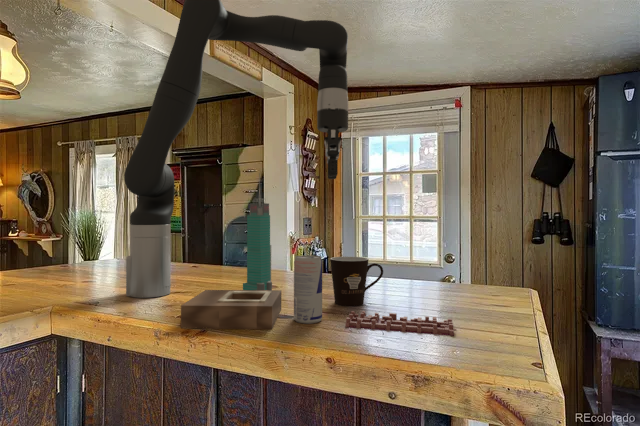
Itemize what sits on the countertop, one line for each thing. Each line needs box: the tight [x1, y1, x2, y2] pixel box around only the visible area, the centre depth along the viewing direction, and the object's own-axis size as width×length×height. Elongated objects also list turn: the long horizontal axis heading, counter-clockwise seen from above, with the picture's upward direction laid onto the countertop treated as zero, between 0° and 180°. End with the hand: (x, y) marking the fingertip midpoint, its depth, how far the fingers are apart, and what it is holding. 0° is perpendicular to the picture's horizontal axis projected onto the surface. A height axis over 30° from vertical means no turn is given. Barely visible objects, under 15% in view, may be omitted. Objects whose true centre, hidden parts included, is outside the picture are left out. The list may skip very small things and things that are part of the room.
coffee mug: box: [329, 256, 384, 308], centre depth 89 cm, size 12×9×10 cm
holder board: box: [180, 289, 282, 330], centre depth 77 cm, size 16×14×4 cm
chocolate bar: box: [344, 310, 457, 337], centre depth 72 cm, size 7×19×2 cm, turn 75°
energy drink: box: [293, 254, 323, 325], centre depth 75 cm, size 5×5×12 cm
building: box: [242, 173, 273, 290], centre depth 98 cm, size 6×6×30 cm
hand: (332, 177), depth 97 cm, fingers open, 8 cm apart
